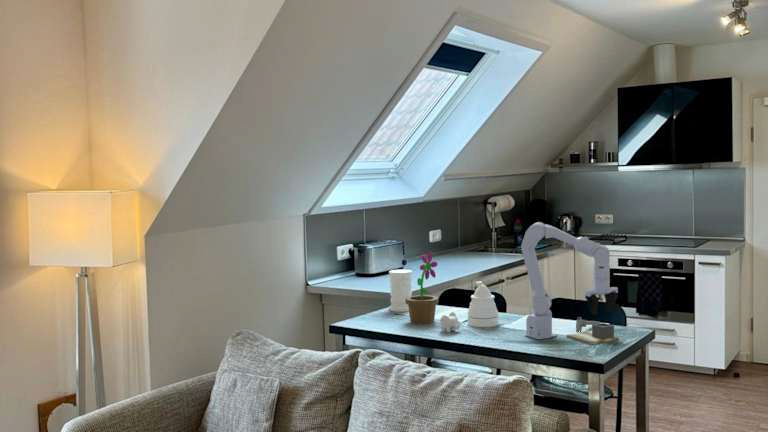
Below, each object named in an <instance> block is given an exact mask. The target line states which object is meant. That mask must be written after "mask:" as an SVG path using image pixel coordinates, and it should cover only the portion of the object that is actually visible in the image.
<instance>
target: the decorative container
mask: <svg viewBox="0 0 768 432" xmlns="http://www.w3.org/2000/svg"><path fill="white" fill-rule="evenodd" d="M388 275H389V276H390V279H389V281H390V303H391V304H390V305H389V307H388V309H389V311H391V312H397V313H398V312H400V313H401V312H403V313H405V312H409V307H408V304H406V303H405V299H406V297H409V296H413V292H412V287H413V286H412V280H413V279H412V275H413V270H411V269H392V270H389V271H388Z"/></svg>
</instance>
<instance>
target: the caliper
mask: <svg viewBox="0 0 768 432" xmlns="http://www.w3.org/2000/svg"><path fill="white" fill-rule="evenodd" d="M575 321H576V322H575V323H576V324H575V333H576V332H579V331H580V332H579V333H581V332H582V329H583V328H586V327H587V326H592V325H594V324H600V323H601V322H600V321H596V320H587V319H582V317H580V316H578V317H577V319H576V320H575Z"/></svg>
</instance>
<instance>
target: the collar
mask: <svg viewBox="0 0 768 432" xmlns="http://www.w3.org/2000/svg"><path fill="white" fill-rule="evenodd" d="M599 323H600V324H594V325H591V331H592V337H596V338H600V339H608V338H614V336H615V325H612V324H608V323H605V322H602V323H601V322H599ZM602 326H604V327H602Z"/></svg>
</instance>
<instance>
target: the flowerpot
mask: <svg viewBox="0 0 768 432" xmlns="http://www.w3.org/2000/svg"><path fill="white" fill-rule="evenodd" d="M420 257H421V261H422V262H423V263H424V264H421V265H420V266H419V270H421V271H422V272H421V273H422V274H421V278H417V281H416V282H417V285H418V286H419V287H420V295H411V296H409V297H406V299H405V303H406V304H408V307H409V311H408V313H409V319H410V323H412V324H414V325H415V324H416V325H427V324H429V325H430V324H433V323H434V322H435V316H436V306H437V304H439V301H440V300H439V297H438V296H436V295H428V293H429V291H428V290H427V289H426V288H425V287H424V277H425V280H428V279H429V278H430V276H431V277H432V278H436V277H437V275H436V272H435V270H434V269H433V268H435V267H437V266H438V262H437V261H433V259H432V258H433V254H432V252H431V251H429V252H428V254H427V256H426V255H424V254H421V256H420ZM426 293H427V295H426ZM424 294H425V295H424Z"/></svg>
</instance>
